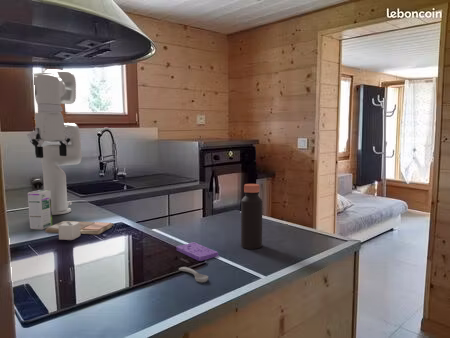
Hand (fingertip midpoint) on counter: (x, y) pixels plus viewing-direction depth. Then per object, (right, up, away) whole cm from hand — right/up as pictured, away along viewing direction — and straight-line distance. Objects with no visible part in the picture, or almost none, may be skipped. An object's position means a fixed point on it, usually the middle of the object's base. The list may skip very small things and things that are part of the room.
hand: (51, 156), depth 130 cm
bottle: (+72, -30, -16) cm, 80 cm away
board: (+8, -28, +5) cm, 29 cm away
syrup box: (-8, -28, +8) cm, 30 cm away
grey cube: (+9, -29, -6) cm, 31 cm away
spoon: (+56, -32, -40) cm, 76 cm away
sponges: (+55, -31, -23) cm, 67 cm away
